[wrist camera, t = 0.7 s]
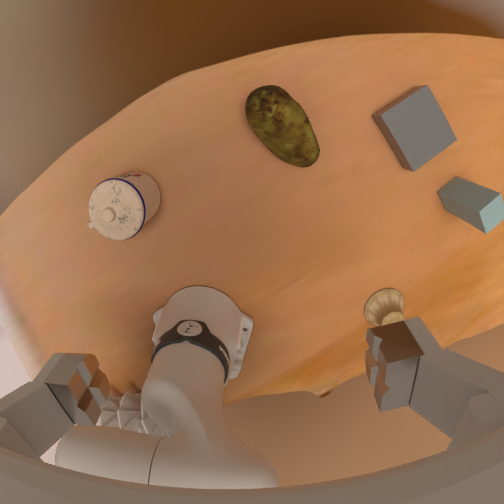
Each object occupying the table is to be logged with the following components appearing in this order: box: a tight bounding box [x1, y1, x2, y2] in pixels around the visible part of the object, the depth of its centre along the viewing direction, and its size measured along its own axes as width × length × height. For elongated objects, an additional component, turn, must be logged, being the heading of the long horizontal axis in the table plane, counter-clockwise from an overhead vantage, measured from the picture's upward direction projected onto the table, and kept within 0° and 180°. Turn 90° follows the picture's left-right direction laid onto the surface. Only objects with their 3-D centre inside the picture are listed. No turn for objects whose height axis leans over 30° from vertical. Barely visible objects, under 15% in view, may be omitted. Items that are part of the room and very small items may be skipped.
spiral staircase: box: [99, 391, 173, 437], centre depth 60 cm, size 18×18×25 cm
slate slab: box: [372, 85, 457, 172], centre depth 42 cm, size 10×10×4 cm
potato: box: [245, 85, 320, 167], centre depth 42 cm, size 8×13×8 cm, turn 20°
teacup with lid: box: [87, 171, 161, 240], centre depth 45 cm, size 12×9×12 cm
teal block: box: [437, 176, 504, 234], centre depth 42 cm, size 4×5×13 cm
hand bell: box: [364, 288, 404, 326], centre depth 49 cm, size 8×8×16 cm
